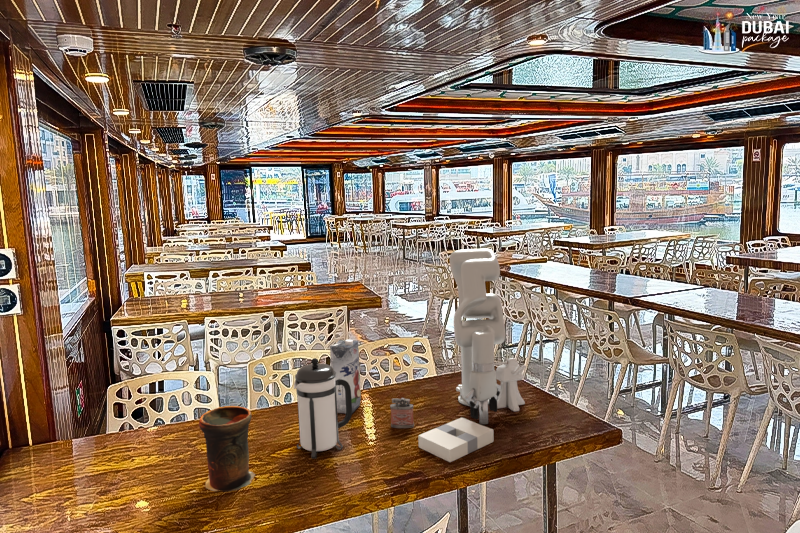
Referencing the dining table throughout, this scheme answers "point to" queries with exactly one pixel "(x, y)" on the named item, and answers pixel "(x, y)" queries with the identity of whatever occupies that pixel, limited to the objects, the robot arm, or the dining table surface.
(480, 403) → the steel pin
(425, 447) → the clevis block
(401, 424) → the lighter
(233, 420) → the vessel
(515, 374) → the toy gun turret
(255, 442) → the dining table surface
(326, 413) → the coffee press
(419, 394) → the dining table surface
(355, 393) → the juice carton
